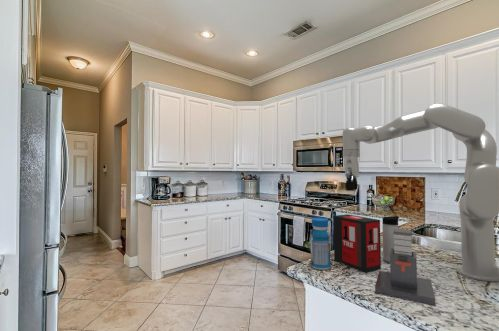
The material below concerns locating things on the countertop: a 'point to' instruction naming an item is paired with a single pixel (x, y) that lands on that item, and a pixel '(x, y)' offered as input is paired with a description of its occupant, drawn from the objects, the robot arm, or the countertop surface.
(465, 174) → the robot arm
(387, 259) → the travel mug
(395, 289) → the stand
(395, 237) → the post
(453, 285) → the countertop surface
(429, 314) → the countertop surface
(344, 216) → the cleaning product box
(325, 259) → the beverage bottle
